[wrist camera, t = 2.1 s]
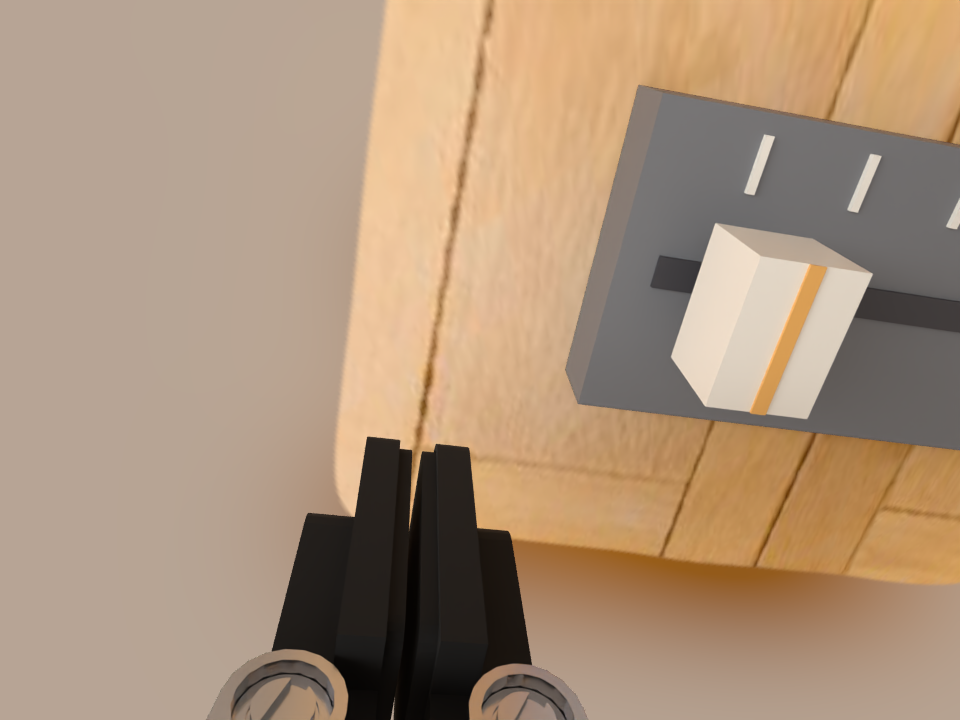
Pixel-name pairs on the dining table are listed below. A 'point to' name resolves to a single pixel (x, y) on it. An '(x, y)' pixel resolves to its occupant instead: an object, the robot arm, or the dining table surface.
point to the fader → (766, 320)
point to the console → (787, 210)
